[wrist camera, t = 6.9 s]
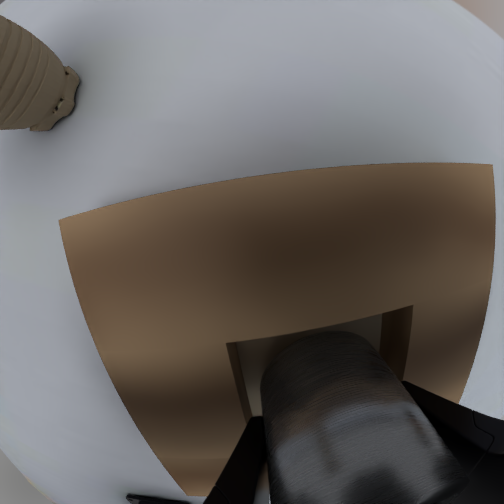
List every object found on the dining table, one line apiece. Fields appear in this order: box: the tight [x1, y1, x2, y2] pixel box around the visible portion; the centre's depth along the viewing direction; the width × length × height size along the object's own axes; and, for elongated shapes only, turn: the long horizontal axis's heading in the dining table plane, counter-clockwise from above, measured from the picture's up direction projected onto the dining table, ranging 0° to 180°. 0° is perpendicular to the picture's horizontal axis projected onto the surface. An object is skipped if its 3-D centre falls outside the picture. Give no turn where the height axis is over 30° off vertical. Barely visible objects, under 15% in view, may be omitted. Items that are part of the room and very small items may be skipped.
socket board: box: [59, 163, 496, 496], centre depth 10 cm, size 16×16×3 cm
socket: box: [260, 330, 470, 504], centre depth 6 cm, size 5×5×7 cm
